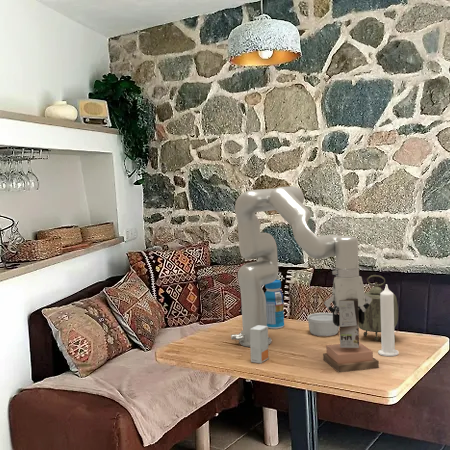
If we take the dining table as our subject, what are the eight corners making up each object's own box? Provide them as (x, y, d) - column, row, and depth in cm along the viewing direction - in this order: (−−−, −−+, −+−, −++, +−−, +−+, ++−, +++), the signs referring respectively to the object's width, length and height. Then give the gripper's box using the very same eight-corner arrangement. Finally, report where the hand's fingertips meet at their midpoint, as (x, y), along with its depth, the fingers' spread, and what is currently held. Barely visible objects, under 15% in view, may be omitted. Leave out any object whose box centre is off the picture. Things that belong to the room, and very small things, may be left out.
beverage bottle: (264, 329, 253) (262, 282, 251) (266, 324, 261) (264, 279, 260) (284, 329, 252) (282, 282, 250) (285, 324, 260) (283, 278, 258)
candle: (399, 351, 214) (397, 282, 212) (398, 357, 207) (396, 286, 205) (378, 350, 216) (377, 282, 214) (377, 355, 210) (375, 285, 208)
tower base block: (339, 374, 195) (338, 365, 194) (323, 361, 208) (323, 353, 208) (378, 369, 197) (378, 361, 197) (360, 357, 211) (360, 349, 211)
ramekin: (341, 329, 248) (340, 312, 247) (340, 337, 235) (339, 320, 235) (309, 328, 251) (308, 312, 250) (306, 337, 238) (305, 320, 238)
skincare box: (261, 363, 207) (259, 330, 206) (250, 362, 210) (249, 328, 209) (269, 358, 212) (268, 325, 211) (258, 357, 215) (257, 324, 214)
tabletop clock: (398, 337, 231) (397, 273, 229) (394, 344, 223) (392, 278, 221) (361, 334, 238) (360, 272, 236) (355, 340, 230) (353, 276, 228)
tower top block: (338, 363, 196) (338, 355, 196) (326, 353, 208) (326, 345, 208) (373, 360, 198) (372, 351, 198) (359, 350, 210) (358, 341, 210)
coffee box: (359, 348, 197) (358, 300, 196) (339, 348, 198) (338, 300, 197) (358, 340, 206) (357, 294, 205) (340, 340, 207) (338, 294, 206)
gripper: (327, 276, 195) (328, 329, 196) (376, 272, 198) (377, 324, 200) (318, 273, 202) (320, 323, 204) (366, 269, 206) (368, 319, 207)
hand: (348, 323), depth 202 cm, fingers closed on coffee box, 8 cm apart
